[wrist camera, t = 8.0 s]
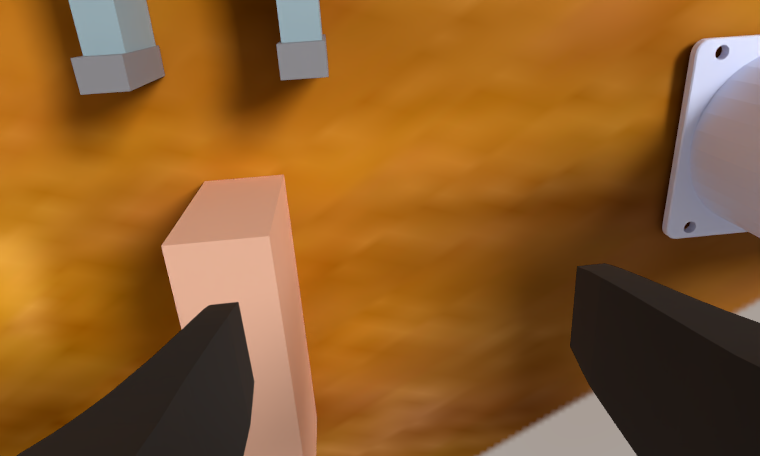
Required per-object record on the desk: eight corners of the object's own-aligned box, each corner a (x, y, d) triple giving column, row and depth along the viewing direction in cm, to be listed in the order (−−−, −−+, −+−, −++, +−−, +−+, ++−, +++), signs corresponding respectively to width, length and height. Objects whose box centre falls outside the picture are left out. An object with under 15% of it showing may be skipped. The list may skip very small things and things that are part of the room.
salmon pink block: (284, 173, 21) (269, 236, 15) (317, 415, 25) (314, 529, 20) (205, 180, 20) (161, 246, 15) (253, 422, 25) (233, 540, 20)
